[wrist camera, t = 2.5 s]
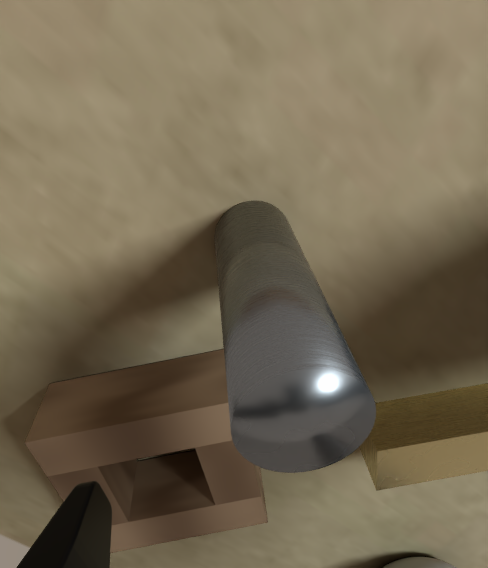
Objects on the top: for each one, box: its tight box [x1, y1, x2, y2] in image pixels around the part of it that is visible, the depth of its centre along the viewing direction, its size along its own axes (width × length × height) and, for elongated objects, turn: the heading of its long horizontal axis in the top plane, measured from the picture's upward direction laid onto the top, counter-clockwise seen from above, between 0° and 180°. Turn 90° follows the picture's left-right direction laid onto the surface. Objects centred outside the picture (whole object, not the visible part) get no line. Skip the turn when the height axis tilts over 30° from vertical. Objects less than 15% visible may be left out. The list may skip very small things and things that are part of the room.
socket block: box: [25, 349, 268, 553], centre depth 22 cm, size 9×9×4 cm
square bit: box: [359, 383, 488, 490], centre depth 23 cm, size 8×3×3 cm, turn 98°
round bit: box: [215, 201, 376, 473], centre depth 14 cm, size 3×3×10 cm
